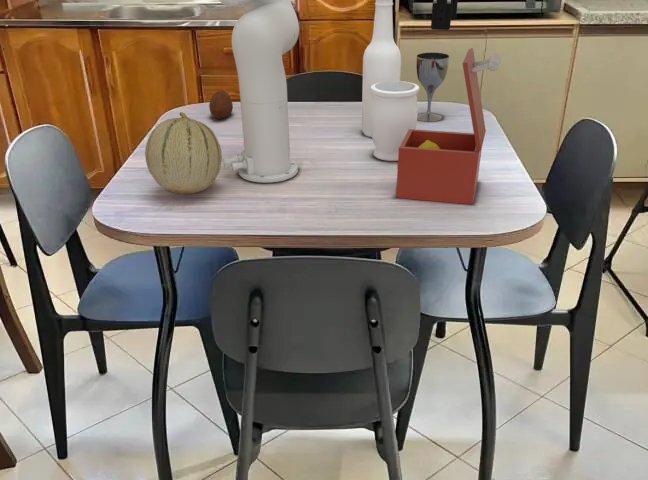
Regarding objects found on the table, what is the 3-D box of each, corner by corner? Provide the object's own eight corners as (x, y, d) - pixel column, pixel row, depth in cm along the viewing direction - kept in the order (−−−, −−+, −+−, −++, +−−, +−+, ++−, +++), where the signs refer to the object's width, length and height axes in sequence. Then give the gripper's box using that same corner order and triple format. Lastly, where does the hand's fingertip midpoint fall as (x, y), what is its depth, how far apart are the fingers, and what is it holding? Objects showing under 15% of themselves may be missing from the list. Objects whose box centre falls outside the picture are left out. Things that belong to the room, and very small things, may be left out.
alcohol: (395, 139, 162) (402, -1, 145) (359, 137, 163) (361, -1, 146) (398, 128, 169) (405, -7, 152) (363, 126, 170) (366, -7, 153)
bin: (396, 197, 133) (398, 147, 127) (405, 176, 142) (408, 128, 136) (472, 204, 129) (478, 153, 124) (477, 182, 139) (483, 133, 133)
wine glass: (448, 115, 177) (454, 54, 168) (436, 123, 172) (441, 60, 163) (420, 111, 181) (425, 51, 172) (407, 119, 175) (411, 57, 167)
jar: (412, 164, 148) (417, 93, 139) (365, 162, 149) (367, 91, 141) (416, 148, 156) (421, 80, 147) (372, 146, 158) (374, 79, 149)
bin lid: (462, 63, 116) (495, 55, 114) (468, 49, 125) (499, 41, 123) (476, 151, 124) (508, 145, 121) (481, 132, 133) (511, 126, 131)
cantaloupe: (155, 210, 130) (142, 131, 121) (148, 183, 141) (136, 109, 133) (231, 200, 133) (223, 123, 124) (218, 174, 145) (211, 102, 136)
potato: (206, 123, 175) (204, 97, 172) (213, 110, 185) (211, 85, 181) (230, 122, 175) (227, 97, 171) (235, 110, 185) (233, 85, 181)
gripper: (436, -94, 116) (429, 15, 126) (422, -90, 103) (414, 32, 113) (481, -95, 115) (469, 16, 125) (472, -90, 101) (460, 34, 111)
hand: (443, 24), depth 119 cm, fingers open, 9 cm apart
